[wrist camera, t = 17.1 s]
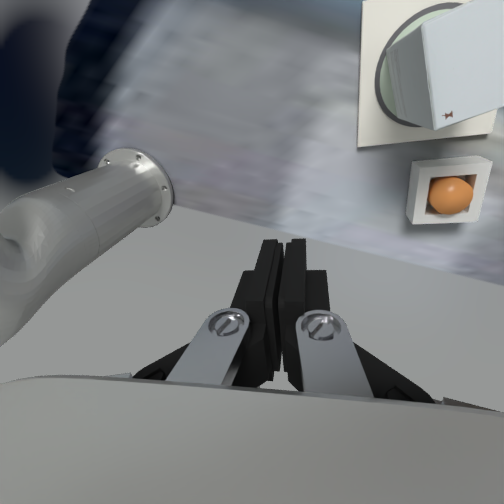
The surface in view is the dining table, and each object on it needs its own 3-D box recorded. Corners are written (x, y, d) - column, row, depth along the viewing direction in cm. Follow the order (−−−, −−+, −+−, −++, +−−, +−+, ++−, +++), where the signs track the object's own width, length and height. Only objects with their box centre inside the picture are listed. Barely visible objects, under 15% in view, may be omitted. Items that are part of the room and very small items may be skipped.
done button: (422, 206, 36) (429, 215, 34) (427, 175, 34) (435, 182, 32) (458, 204, 35) (469, 213, 33) (465, 172, 33) (477, 179, 31)
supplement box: (471, 92, 30) (555, 94, 19) (395, 119, 33) (431, 134, 22) (467, 9, 27) (562, -43, 16) (384, 46, 30) (418, 23, 19)
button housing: (405, 213, 39) (412, 224, 36) (411, 161, 35) (420, 167, 32) (464, 211, 37) (477, 221, 34) (477, 155, 34) (492, 161, 31)
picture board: (357, 146, 36) (358, 147, 35) (362, 3, 29) (363, 0, 28) (487, 132, 32) (492, 133, 31) (527, -34, 26) (534, -38, 25)
